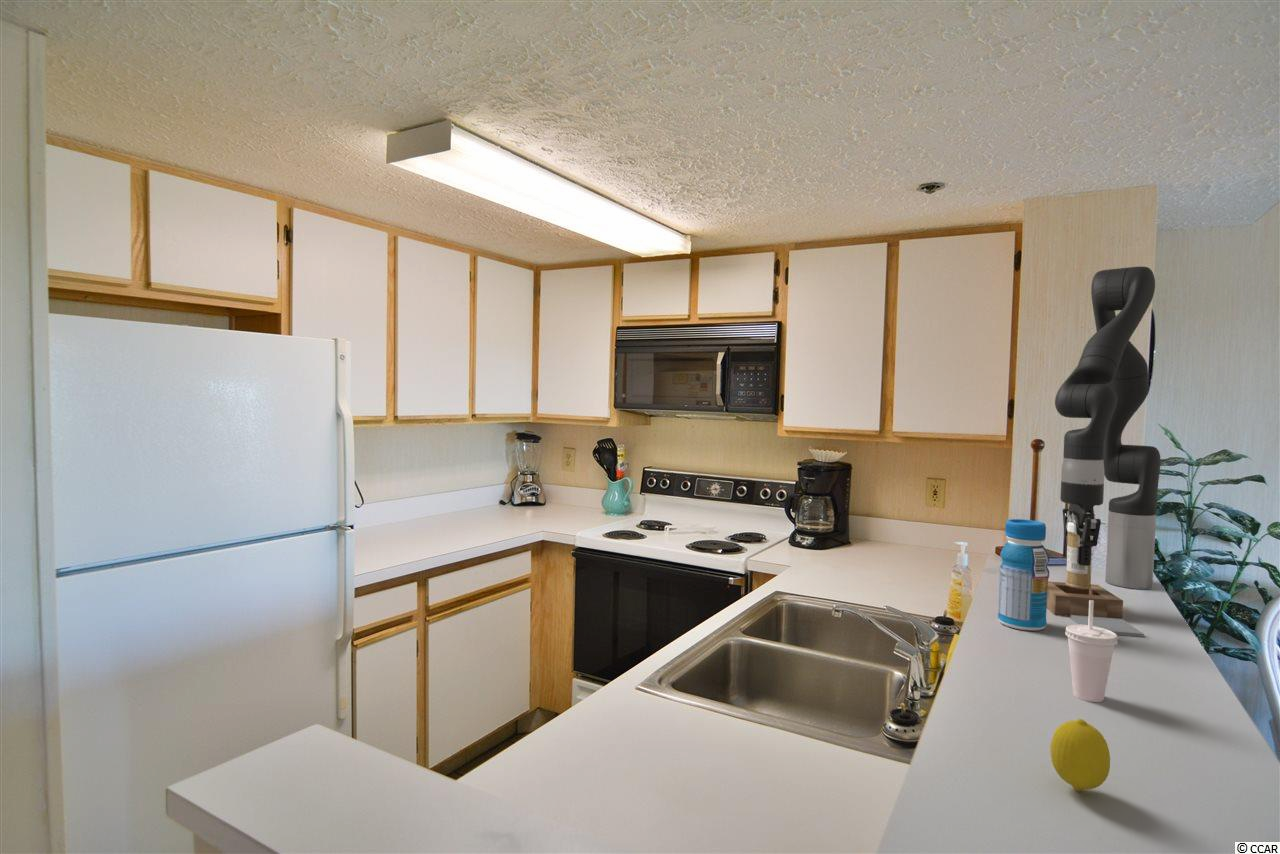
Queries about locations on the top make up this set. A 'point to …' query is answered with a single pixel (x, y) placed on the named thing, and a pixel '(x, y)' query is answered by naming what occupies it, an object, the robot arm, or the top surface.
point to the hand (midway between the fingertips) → (1079, 561)
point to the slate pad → (1110, 625)
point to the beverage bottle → (1024, 576)
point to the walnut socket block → (1082, 601)
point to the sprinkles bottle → (1076, 573)
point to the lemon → (1080, 755)
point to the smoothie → (1090, 658)
